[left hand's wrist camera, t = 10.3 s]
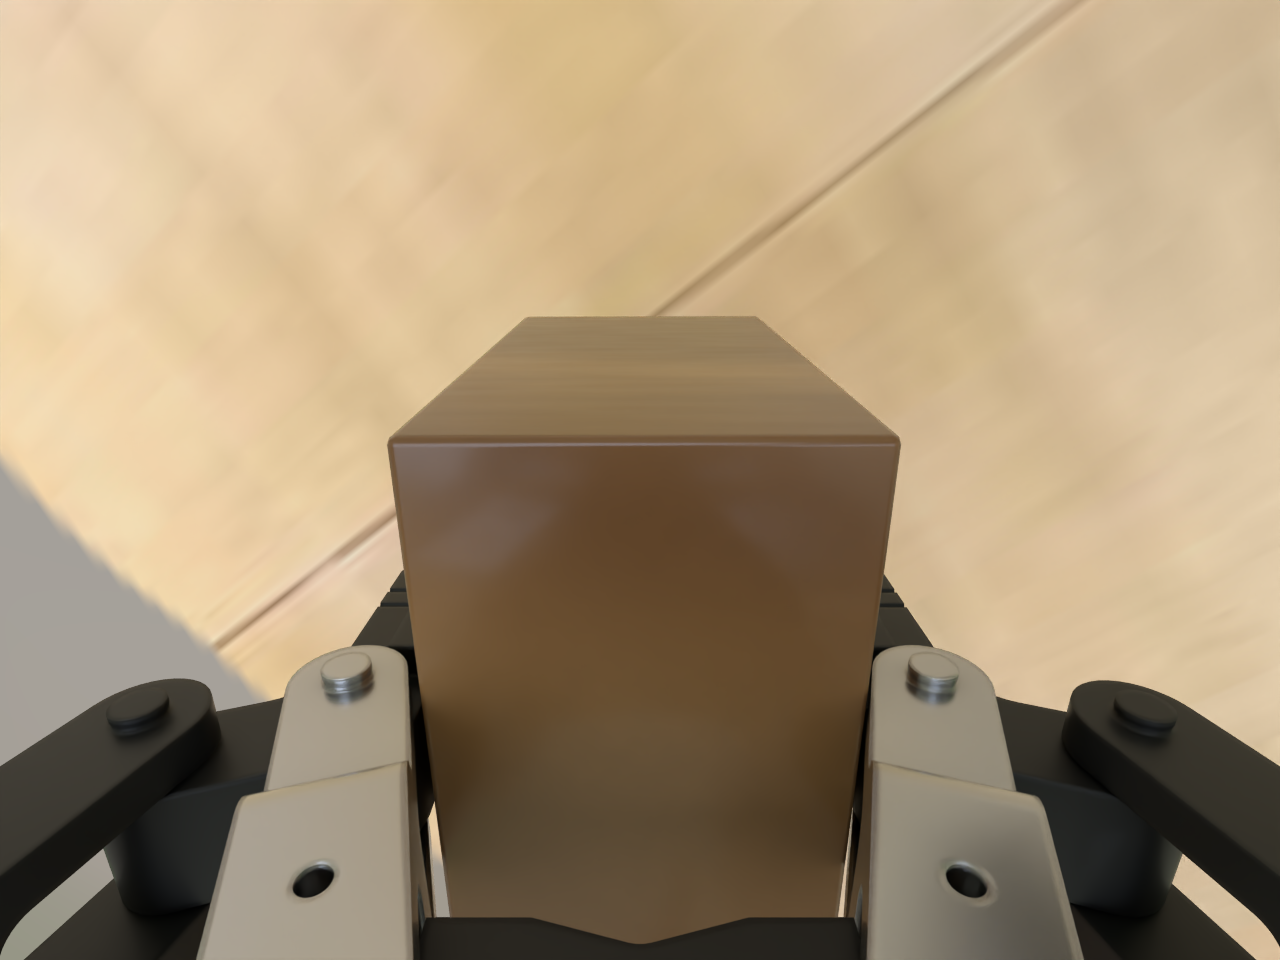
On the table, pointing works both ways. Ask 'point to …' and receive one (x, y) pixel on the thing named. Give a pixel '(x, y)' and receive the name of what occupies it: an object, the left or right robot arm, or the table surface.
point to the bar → (643, 621)
